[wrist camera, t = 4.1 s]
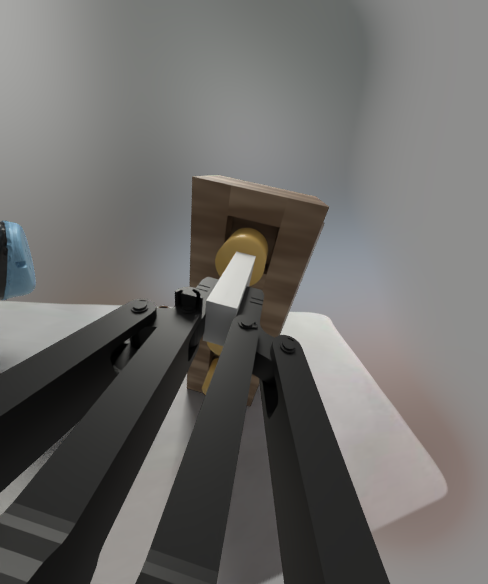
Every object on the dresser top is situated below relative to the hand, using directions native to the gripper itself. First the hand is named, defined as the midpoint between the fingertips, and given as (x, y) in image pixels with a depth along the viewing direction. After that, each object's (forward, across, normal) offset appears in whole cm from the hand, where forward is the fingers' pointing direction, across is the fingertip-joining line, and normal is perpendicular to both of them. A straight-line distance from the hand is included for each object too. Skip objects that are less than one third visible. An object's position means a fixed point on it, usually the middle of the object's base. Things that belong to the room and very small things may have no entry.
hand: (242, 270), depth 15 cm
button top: (+2, 0, -2) cm, 3 cm away
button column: (+9, 0, -29) cm, 30 cm away
